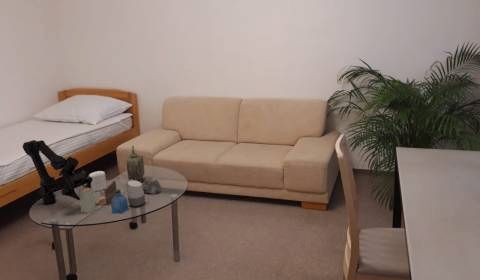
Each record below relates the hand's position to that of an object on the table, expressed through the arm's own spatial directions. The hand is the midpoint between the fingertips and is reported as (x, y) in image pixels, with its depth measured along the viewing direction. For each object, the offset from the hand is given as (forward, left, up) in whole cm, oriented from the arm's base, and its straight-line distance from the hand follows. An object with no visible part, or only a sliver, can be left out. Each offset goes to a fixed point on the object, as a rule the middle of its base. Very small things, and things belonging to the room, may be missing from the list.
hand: (86, 197), depth 240 cm
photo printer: (+1, +34, -8) cm, 35 cm away
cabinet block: (0, 0, -8) cm, 8 cm away
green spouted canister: (+25, +41, -8) cm, 49 cm away
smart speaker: (+27, 0, -8) cm, 28 cm away
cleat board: (+7, +13, -8) cm, 17 cm away
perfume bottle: (+18, -6, -8) cm, 21 cm away
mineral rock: (+34, +19, -8) cm, 40 cm away
